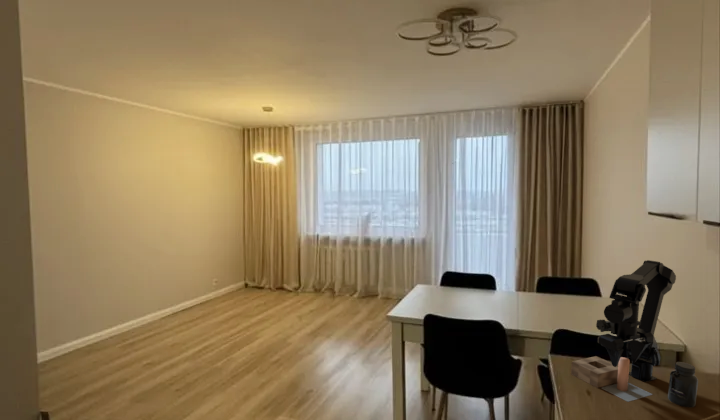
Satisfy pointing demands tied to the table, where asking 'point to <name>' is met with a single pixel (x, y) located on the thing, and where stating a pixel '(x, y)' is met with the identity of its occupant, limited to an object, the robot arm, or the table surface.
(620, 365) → the dowel
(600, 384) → the socket block
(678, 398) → the supplement bottle
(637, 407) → the table surface
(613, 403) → the table surface
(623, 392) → the mat
